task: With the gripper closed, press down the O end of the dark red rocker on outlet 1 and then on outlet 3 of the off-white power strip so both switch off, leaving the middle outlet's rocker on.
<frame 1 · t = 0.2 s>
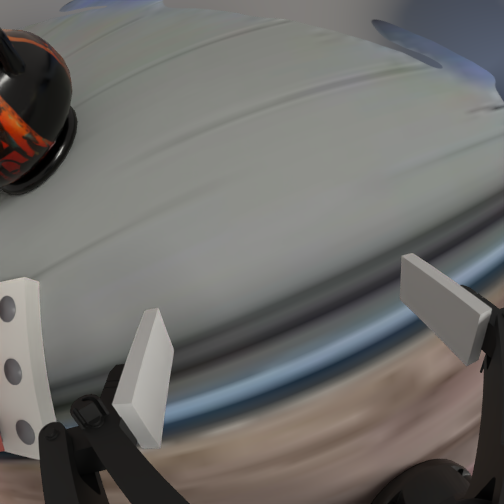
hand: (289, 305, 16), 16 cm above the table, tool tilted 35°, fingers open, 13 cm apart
power strip: (10, 370, 28), on the table
amphora vase: (37, 149, 37), on the table
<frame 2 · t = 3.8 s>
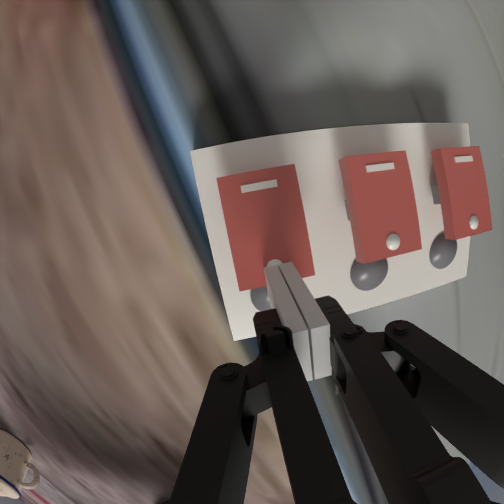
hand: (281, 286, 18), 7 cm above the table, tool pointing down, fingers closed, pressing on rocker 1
rocker 2: (378, 205, 19), point 5 cm above the table, hinge at -14.0°
power strip: (350, 215, 24), on the table
teacup with lid: (17, 445, 31), on the table
rocker 3: (458, 191, 19), point 5 cm above the table, hinge at -14.0°
rocker 1: (264, 226, 18), point 5 cm above the table, hinge at -13.4°, touching gripper
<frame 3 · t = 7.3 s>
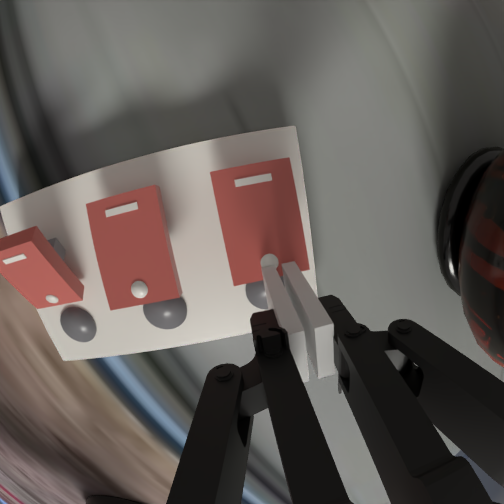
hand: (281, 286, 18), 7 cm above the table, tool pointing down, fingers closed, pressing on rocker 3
rocker 2: (136, 247, 18), point 5 cm above the table, hinge at -14.0°
power strip: (157, 248, 23), on the table
rocker 3: (259, 220, 18), point 5 cm above the table, hinge at -11.0°, touching gripper
amphora vase: (482, 221, 26), on the table
rocker 1: (37, 264, 17), point 5 cm above the table, hinge at 30.4°
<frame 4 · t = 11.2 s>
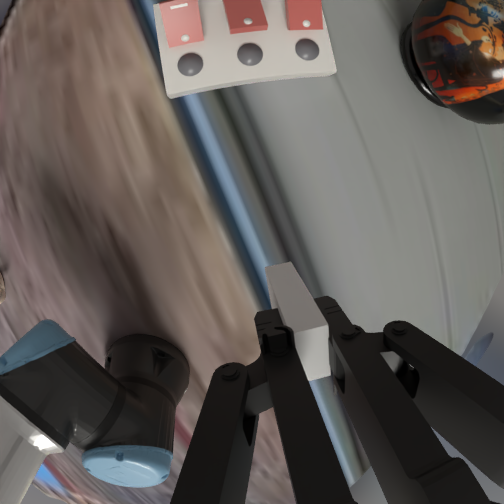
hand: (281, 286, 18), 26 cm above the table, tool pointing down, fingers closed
rocker 2: (243, 13, 29), point 5 cm above the table, hinge at -14.0°
power strip: (243, 37, 35), on the table
rocker 3: (301, 7, 30), point 5 cm above the table, hinge at 25.2°
amphora vase: (436, 63, 38), on the table
rocker 1: (182, 19, 29), point 5 cm above the table, hinge at 39.2°
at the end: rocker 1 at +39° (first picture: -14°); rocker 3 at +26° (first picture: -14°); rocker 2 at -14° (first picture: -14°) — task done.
